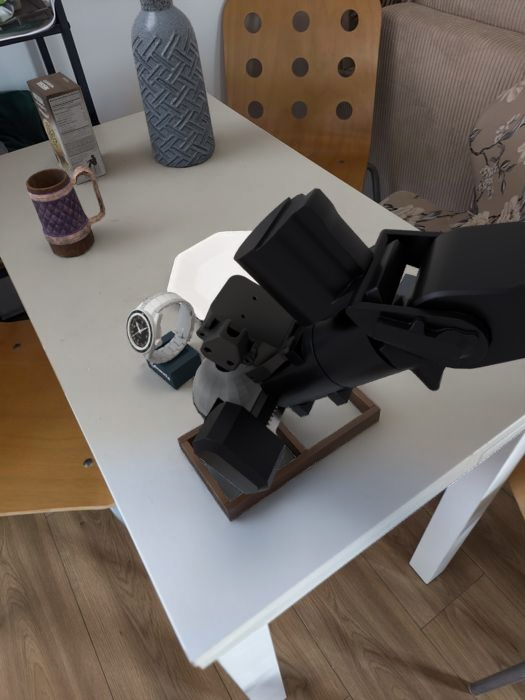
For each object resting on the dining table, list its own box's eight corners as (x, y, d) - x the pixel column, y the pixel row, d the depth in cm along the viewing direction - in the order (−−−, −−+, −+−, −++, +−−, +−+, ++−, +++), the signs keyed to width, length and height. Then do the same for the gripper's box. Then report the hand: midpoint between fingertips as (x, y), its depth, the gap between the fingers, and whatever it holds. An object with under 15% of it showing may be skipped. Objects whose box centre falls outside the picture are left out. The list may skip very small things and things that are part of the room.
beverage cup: (196, 466, 54) (154, 335, 40) (237, 418, 58) (213, 281, 43) (252, 502, 51) (229, 374, 36) (292, 448, 55) (285, 312, 40)
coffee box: (58, 167, 101) (24, 80, 89) (88, 156, 103) (60, 69, 91) (76, 186, 96) (43, 95, 84) (108, 173, 98) (80, 84, 86)
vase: (224, 140, 104) (203, -31, 83) (201, 171, 96) (171, -9, 75) (170, 136, 107) (135, -30, 86) (143, 165, 99) (98, -9, 78)
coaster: (463, 290, 70) (463, 288, 69) (447, 329, 65) (448, 327, 65) (404, 275, 72) (405, 273, 72) (386, 311, 68) (386, 309, 68)
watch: (135, 375, 63) (110, 310, 55) (186, 340, 67) (169, 273, 59) (163, 400, 61) (140, 335, 52) (214, 362, 64) (200, 295, 56)
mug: (53, 263, 80) (21, 193, 71) (49, 238, 85) (19, 170, 76) (118, 245, 82) (95, 176, 73) (111, 222, 87) (89, 154, 78)
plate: (161, 329, 69) (158, 321, 67) (183, 240, 82) (181, 232, 81) (310, 326, 67) (310, 318, 66) (308, 236, 80) (308, 228, 79)
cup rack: (379, 420, 57) (381, 408, 55) (230, 522, 50) (227, 512, 48) (320, 365, 62) (321, 353, 61) (180, 449, 56) (176, 438, 54)
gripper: (309, 195, 40) (204, 277, 51) (195, 372, 28) (93, 426, 40) (399, 294, 43) (281, 350, 55) (328, 487, 32) (199, 506, 43)
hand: (221, 399), depth 48 cm, fingers closed on beverage cup, 7 cm apart
